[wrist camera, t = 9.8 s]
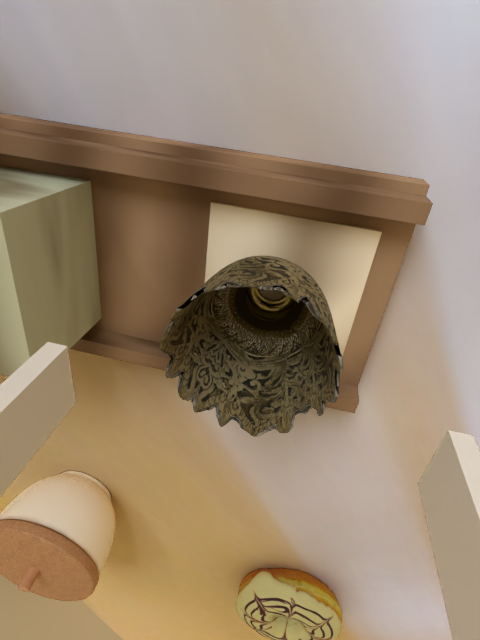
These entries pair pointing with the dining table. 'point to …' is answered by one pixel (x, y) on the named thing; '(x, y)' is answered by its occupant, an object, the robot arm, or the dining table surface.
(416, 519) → the dining table surface
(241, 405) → the cup
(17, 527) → the lidded jar
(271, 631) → the decorated donut
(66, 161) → the brown wooden tray
